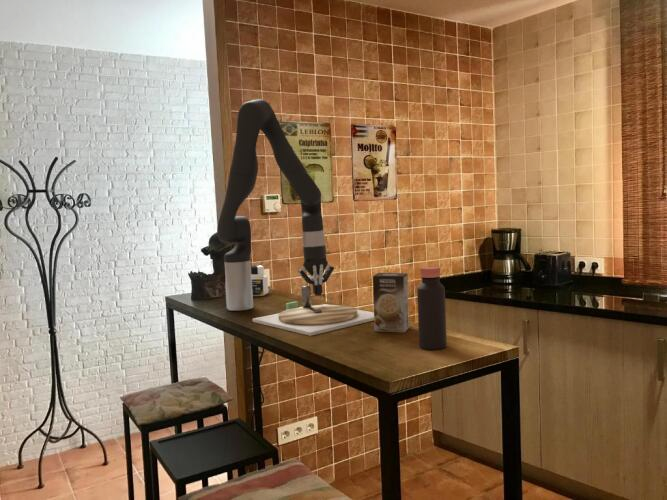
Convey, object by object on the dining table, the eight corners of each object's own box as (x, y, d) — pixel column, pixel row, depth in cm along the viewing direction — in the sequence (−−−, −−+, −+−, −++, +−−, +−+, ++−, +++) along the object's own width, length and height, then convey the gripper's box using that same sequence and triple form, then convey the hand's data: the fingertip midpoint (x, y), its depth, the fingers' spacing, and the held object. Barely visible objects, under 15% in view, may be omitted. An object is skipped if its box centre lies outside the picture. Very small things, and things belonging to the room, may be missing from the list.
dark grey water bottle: (428, 351, 142) (425, 270, 141) (414, 345, 149) (411, 267, 147) (452, 347, 145) (449, 267, 143) (436, 342, 151) (434, 265, 150)
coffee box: (373, 331, 166) (371, 275, 164) (379, 326, 172) (376, 272, 170) (405, 332, 163) (403, 275, 161) (410, 327, 169) (408, 272, 167)
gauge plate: (252, 321, 188) (251, 309, 187) (324, 306, 207) (324, 295, 207) (310, 335, 165) (309, 321, 164) (385, 317, 184) (384, 305, 184)
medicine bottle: (246, 296, 238) (244, 266, 237) (252, 293, 245) (250, 264, 244) (263, 295, 237) (261, 266, 236) (268, 292, 244) (266, 264, 243)
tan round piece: (370, 317, 179) (369, 291, 178) (291, 328, 170) (290, 301, 169) (340, 305, 202) (339, 282, 201) (269, 313, 193) (268, 289, 192)
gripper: (327, 242, 202) (331, 291, 203) (291, 245, 196) (295, 296, 198) (336, 243, 195) (340, 294, 197) (299, 247, 190) (303, 299, 191)
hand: (317, 295), depth 197 cm, fingers closed
